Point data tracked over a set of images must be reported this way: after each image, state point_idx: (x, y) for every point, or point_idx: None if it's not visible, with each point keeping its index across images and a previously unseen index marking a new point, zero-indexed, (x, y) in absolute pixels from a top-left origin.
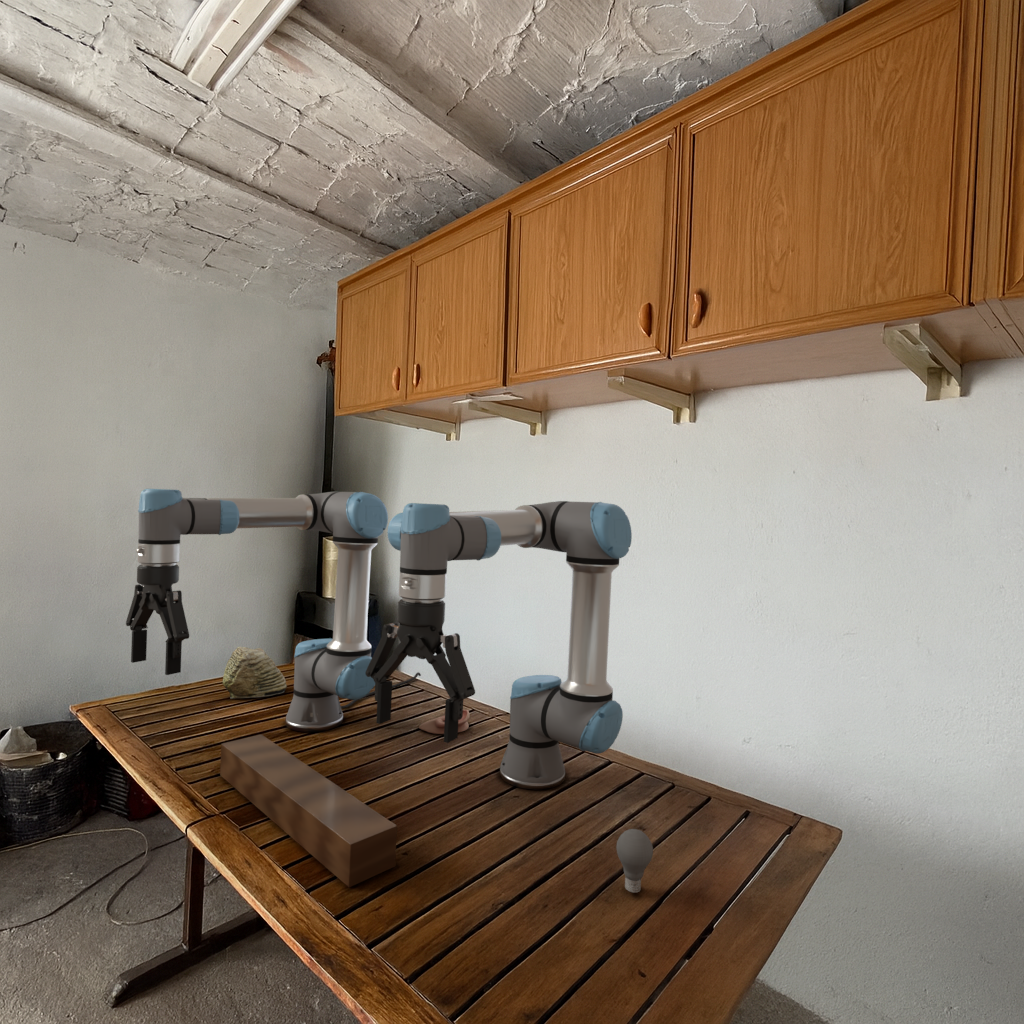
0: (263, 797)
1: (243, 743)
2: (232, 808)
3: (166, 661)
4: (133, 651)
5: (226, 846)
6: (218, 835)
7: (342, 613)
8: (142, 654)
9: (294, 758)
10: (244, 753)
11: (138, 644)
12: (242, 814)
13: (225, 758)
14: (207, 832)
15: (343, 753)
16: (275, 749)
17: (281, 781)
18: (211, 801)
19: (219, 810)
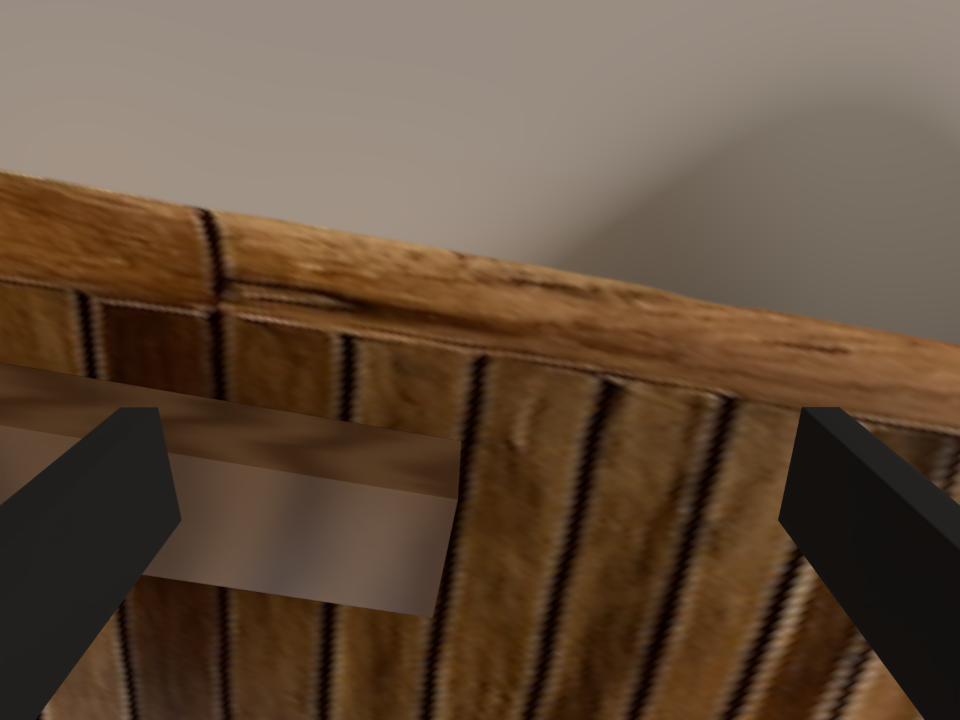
0: (110, 405)
1: (398, 544)
2: (222, 348)
3: (59, 479)
4: (872, 474)
5: (8, 215)
6: (86, 235)
7: None
8: (818, 529)
9: (155, 571)
10: (311, 501)
11: (904, 575)
12: (166, 345)
13: (417, 470)
14: (125, 224)
15: (329, 706)
16: (269, 576)
17: (1, 451)
18: (310, 334)
19: (236, 318)
